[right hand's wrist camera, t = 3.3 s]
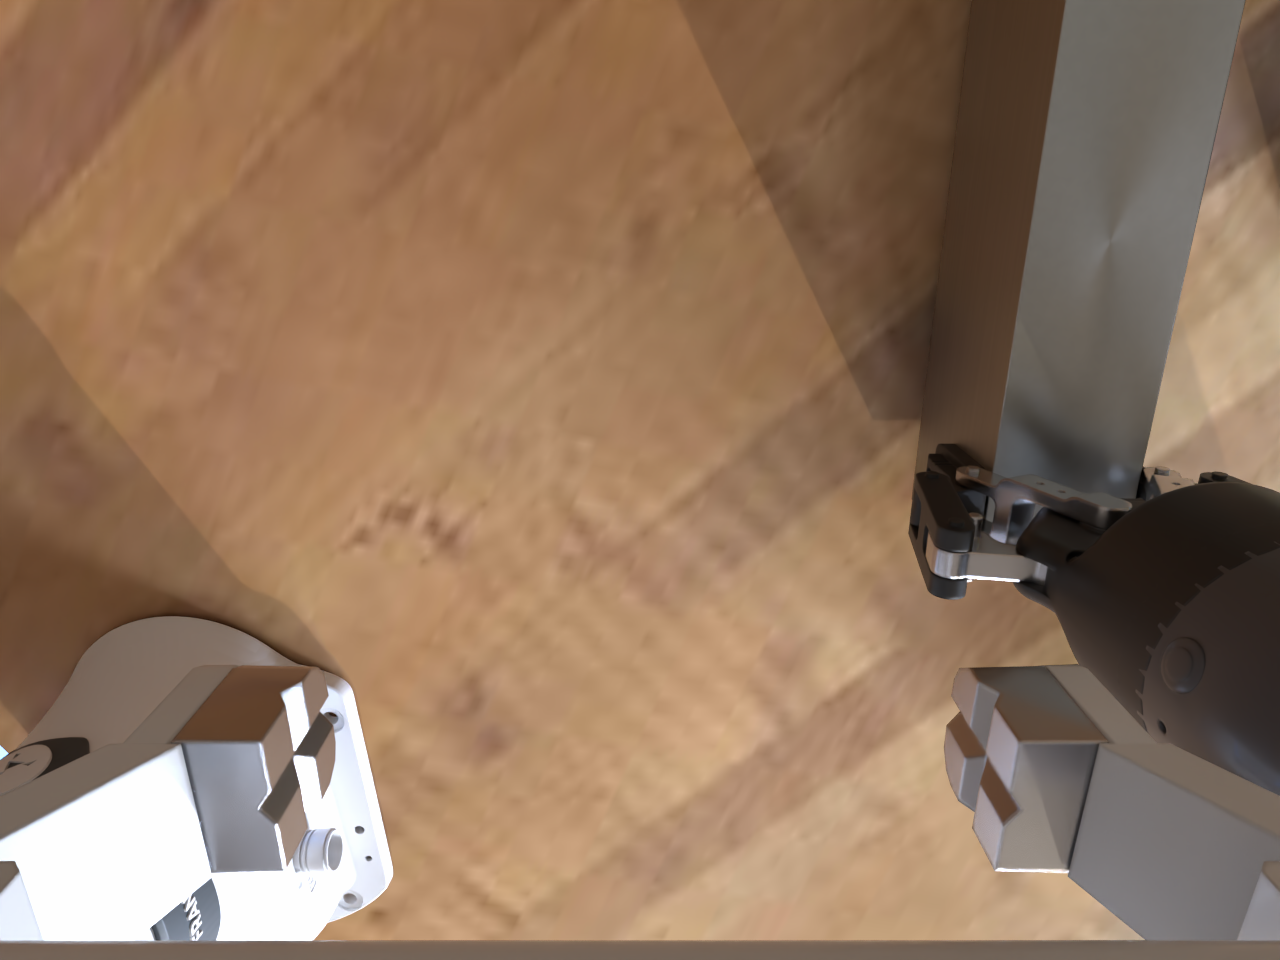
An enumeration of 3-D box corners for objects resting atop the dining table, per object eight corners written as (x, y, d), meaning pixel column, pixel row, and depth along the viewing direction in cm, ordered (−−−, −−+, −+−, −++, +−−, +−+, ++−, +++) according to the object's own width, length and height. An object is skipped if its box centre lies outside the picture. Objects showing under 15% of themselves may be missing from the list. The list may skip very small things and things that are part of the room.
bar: (985, -114, 32) (1099, -217, 24) (1130, -114, 32) (1294, -218, 24) (911, 499, 41) (976, 575, 33) (1025, 499, 41) (1119, 576, 33)
